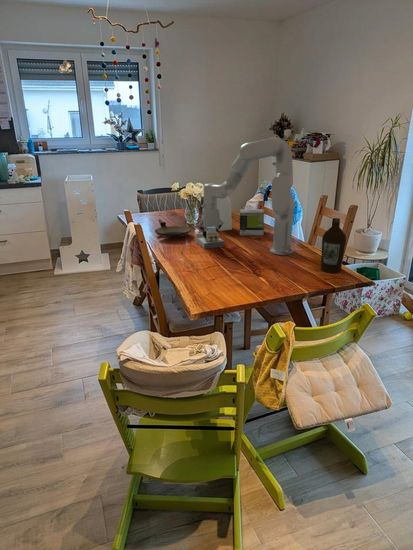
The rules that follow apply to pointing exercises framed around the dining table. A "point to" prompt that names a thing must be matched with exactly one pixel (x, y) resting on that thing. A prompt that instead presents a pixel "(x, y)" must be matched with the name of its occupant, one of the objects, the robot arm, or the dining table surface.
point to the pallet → (212, 236)
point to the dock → (209, 242)
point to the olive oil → (333, 248)
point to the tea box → (251, 222)
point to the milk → (225, 213)
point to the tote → (211, 230)
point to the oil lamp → (171, 230)
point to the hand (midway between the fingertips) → (210, 236)
